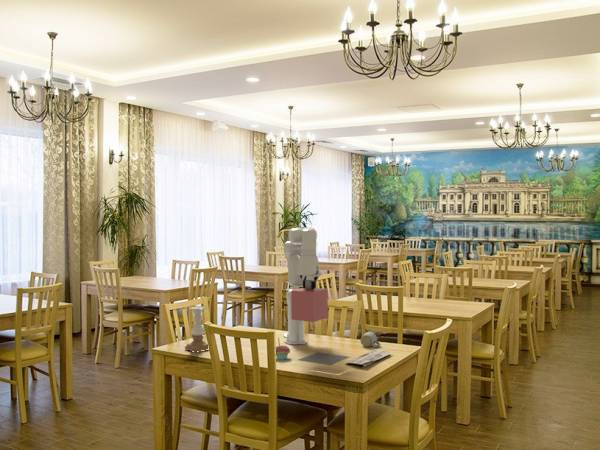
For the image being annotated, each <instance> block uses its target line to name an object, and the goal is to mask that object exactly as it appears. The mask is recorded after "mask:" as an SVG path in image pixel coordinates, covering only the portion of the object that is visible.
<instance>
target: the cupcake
mask: <svg viewBox="0 0 600 450" xmlns="http://www.w3.org/2000/svg"><path fill="white" fill-rule="evenodd" d="M277 342H278V343H277V344H278V345H277V346H276V354H275V356H276V360H287V359H288V355H289V354H291V349H290V347H288V346H287V345H281V343H280V338H279V337H277Z"/></svg>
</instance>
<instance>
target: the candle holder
mask: <svg viewBox="0 0 600 450" xmlns="http://www.w3.org/2000/svg"><path fill="white" fill-rule="evenodd" d="M207 309H208V307H207V306H205V305H204V306H203V305H202V306H201V305H199V306H197V305H196V306H189V307H188V311H192V313H193V314H194V317H193V318H192V320H193V322H194V325H193V327H192V328H191V330H190V331H191V332H190V333H191V334H192V341H191V342H190V343H186V345H185V347H184V350H185V349H187V350H190V351H194V352H197V351H201V350H206V349H208V344H209V343H208V342H205V341H204V336H203V335H204V334H205V328H204V326H203V325H202V320H203V318H202V317H203V316H202V313H203V311H205V310H207ZM203 328H204V329H203ZM207 343H208V344H207ZM190 351H189V352H190Z"/></svg>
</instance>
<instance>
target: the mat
mask: <svg viewBox="0 0 600 450" xmlns="http://www.w3.org/2000/svg"><path fill="white" fill-rule="evenodd" d="M349 358H350V356H346V355H340V354H332V353H326V352H325V353H324V352H315V353H313V354H310V355H307V356H305V357H304V356H303V357H301V358H299V359H297V361H300V362H301V361H302V362H308V363H314V364H315V363H316V364H321V365H328V366H331V365H334V364H336V363H339V362H342V361H345V360H347V359H349Z"/></svg>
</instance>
